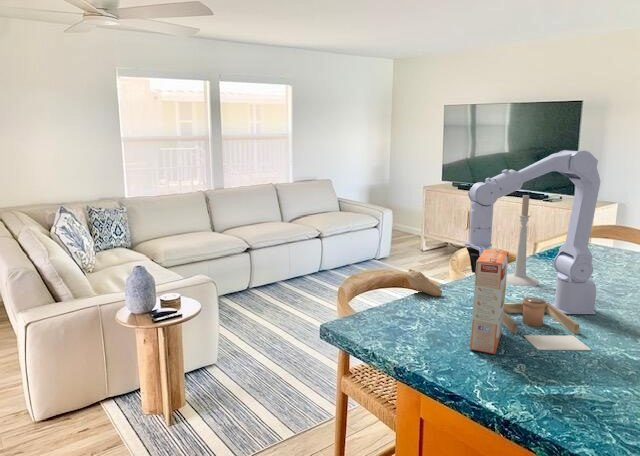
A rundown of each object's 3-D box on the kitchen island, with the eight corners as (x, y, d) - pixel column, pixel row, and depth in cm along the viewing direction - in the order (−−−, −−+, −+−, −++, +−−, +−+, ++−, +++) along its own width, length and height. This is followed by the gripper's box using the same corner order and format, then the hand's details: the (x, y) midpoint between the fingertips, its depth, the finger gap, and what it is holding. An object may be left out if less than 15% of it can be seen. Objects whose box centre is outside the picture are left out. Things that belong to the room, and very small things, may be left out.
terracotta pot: (538, 319, 128) (540, 296, 127) (548, 327, 123) (550, 303, 122) (517, 318, 128) (519, 296, 127) (526, 326, 123) (528, 303, 122)
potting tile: (573, 336, 117) (573, 335, 117) (591, 350, 109) (591, 349, 109) (523, 336, 117) (523, 335, 117) (537, 350, 109) (538, 349, 109)
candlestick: (527, 291, 153) (535, 196, 147) (491, 282, 162) (497, 193, 157) (547, 284, 161) (555, 194, 155) (511, 275, 170) (518, 191, 165)
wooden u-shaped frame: (548, 311, 134) (549, 303, 134) (578, 334, 118) (579, 324, 118) (490, 311, 134) (491, 302, 134) (512, 333, 118) (513, 324, 118)
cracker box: (497, 355, 106) (504, 263, 102) (468, 350, 109) (474, 260, 105) (503, 333, 118) (509, 250, 115) (478, 329, 121) (483, 248, 117)
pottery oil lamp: (433, 301, 143) (434, 278, 142) (399, 292, 151) (399, 270, 149) (447, 294, 149) (448, 272, 148) (413, 286, 157) (414, 265, 156)
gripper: (462, 222, 138) (459, 268, 140) (469, 231, 124) (466, 282, 126) (488, 223, 136) (485, 269, 139) (497, 232, 122) (494, 284, 125)
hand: (478, 276), depth 132 cm, fingers open, 7 cm apart
